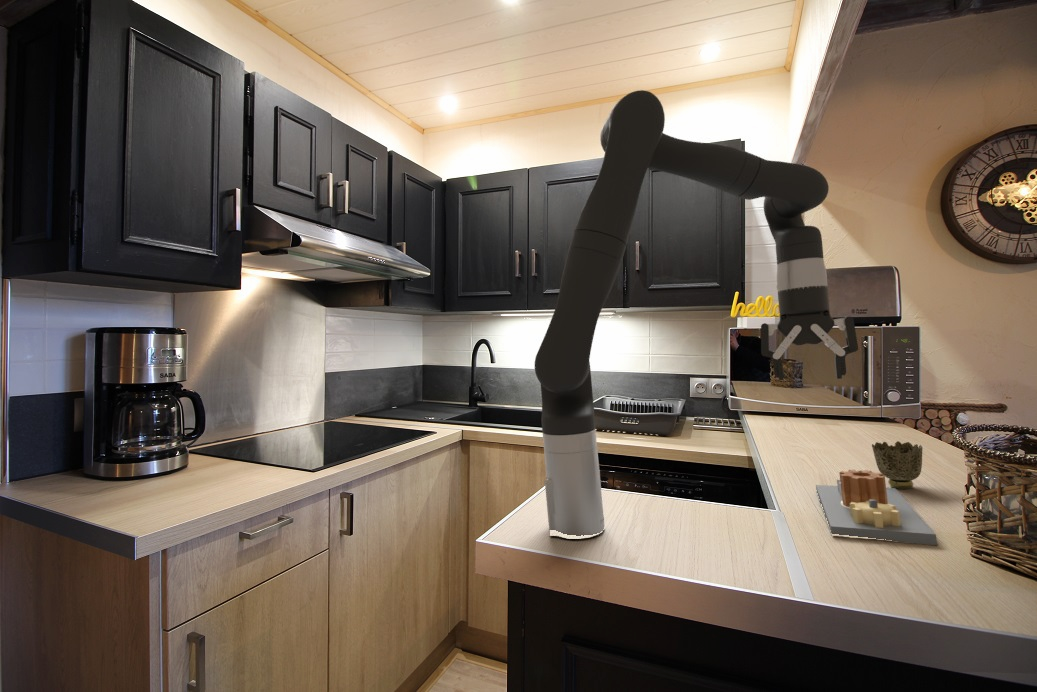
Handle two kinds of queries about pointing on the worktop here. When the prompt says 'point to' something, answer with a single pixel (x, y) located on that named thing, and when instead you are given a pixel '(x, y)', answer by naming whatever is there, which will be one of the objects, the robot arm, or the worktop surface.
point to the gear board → (874, 517)
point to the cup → (899, 463)
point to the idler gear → (862, 487)
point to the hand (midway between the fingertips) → (809, 379)
